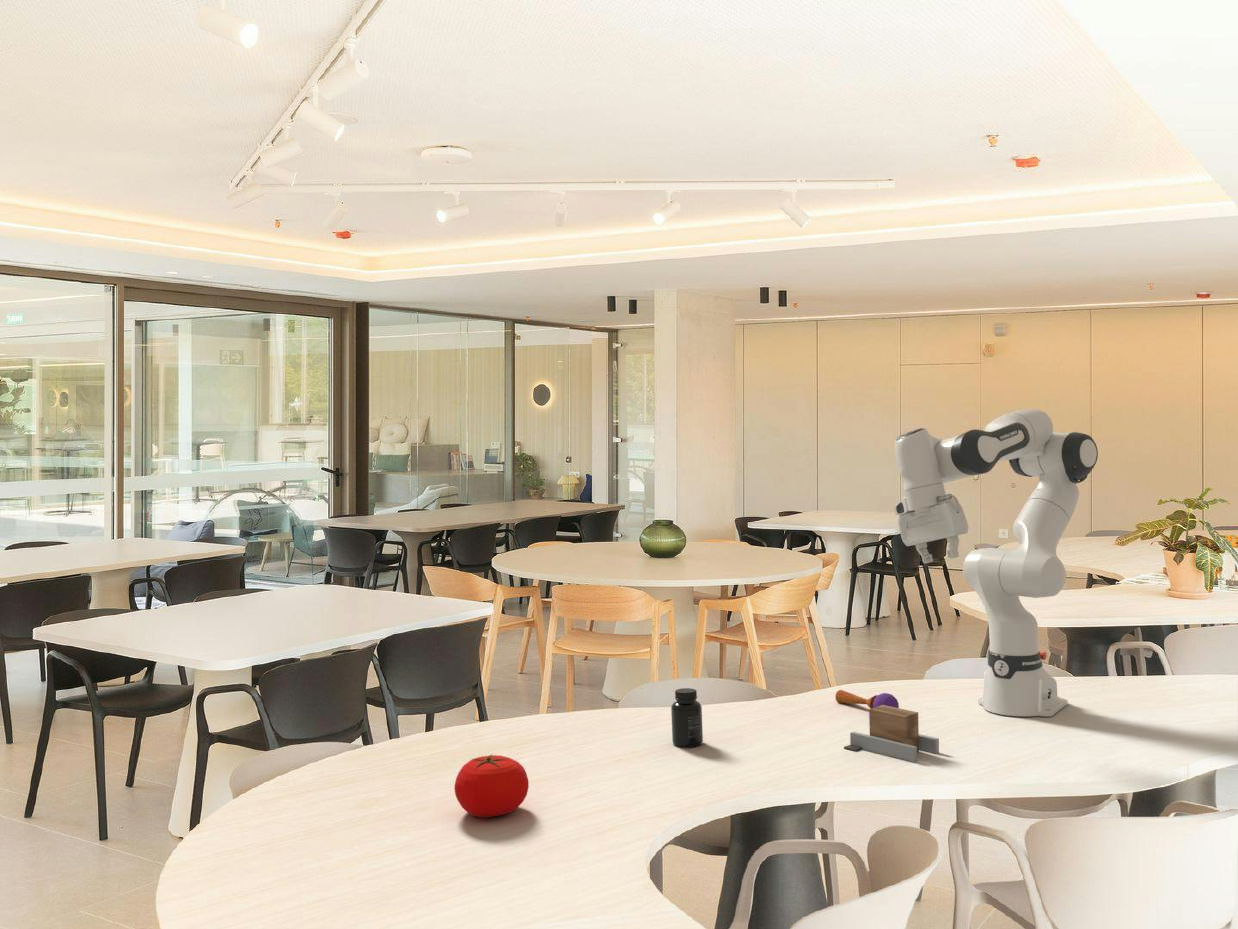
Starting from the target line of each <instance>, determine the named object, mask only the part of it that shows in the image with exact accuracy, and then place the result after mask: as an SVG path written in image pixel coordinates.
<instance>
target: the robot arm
mask: <svg viewBox="0 0 1238 929" xmlns="http://www.w3.org/2000/svg"><path fill="white" fill-rule="evenodd" d="M1098 452H1099V450H1098V446H1097V444H1096V442H1095V440H1094V439H1093V437H1092V436H1091V435H1089V434H1087V433H1083V432H1076V431H1073V432H1054V425H1053V421H1052V419H1051V417H1050V416H1049V415H1048V414H1047V413H1046V412H1045V411H1043V410H1040V409H1038V408H1027V409H1026V408H1025V409H1019V410H1014V411H1012V412H1008V413H1004V414H1003V415H1002V414H1001V415H1000V416H998V417H997V418H995V419H993V420H991V421H990V422H989V423H988V424H987V425H985V427H984V429H983V430H981V429H977V428H976V429H975V428H974V429H970V430H968V431H966V432H963V433H961V434H958V435H955V436H953V437H949V438H945V439H941V438H937V437H935V436H933V435H932V434H930V433H929V431H928V429H927V428H923V427H921V428H916V429H914V430H911V431H908V432H905V433H904V434H900V435H899V436H898V437H897V438H895V441H894V453H895V460H896V465H897V469H898V474H899V476H900V477H901V479H902V482H903V486H902V487H903V488H902V491H903V495H904V496H903V497H902V498H901V500H900V501H899V502H898V503H896V505H894V508H893V509H894V514H895V515H896V516H898V517H897V525H898V528H899V529H898V530H899V533H900V537H901V540H902V543H903V544H904V545H905V546H906V547H911V546H915V549H916V551H917V552H918V554H919V555H920V556H921V559H922V563H923V564H929V563H933V562H934V559H933V554H932V553H931V554H930V553H929V550H928V549H927V548H928V544H927V543H929V542H934V541H939V540H942V539H946V542H947V543H948V545H949V546H948V550H947V551H946V553H947V557H948V558H949V559H955V558H958V557H959V556H960V554H959V545H960V539H959V538H960V537H959V536H961V535H965V534H968V532H969V524H968V520H967V517H966V514H965V512H964V510H963V506H962V505H961V503H959V502H960V501H959V500H958V498H957V497H956V496H955V495H953V494H952V493H946V489H945V486H944V484H946V483H950V482H953V481H958V480H960V479H964V478H968V477H972V476H978V475H983V474H987V473H989V472H990V471H992V470H993V468H994V467H995V466H996V464H997V463H998V462H999V461H1008V462H1009V465H1010V468H1012V471H1013V472H1014V473H1015V474H1017V475H1019V476H1022V477H1027V478H1032V477H1038V483H1037V486H1036V488H1034V490H1033V491H1032V493H1031V494H1030V496H1029V497H1028V499H1027V500H1026V501H1025V504H1024V505H1023V507H1022V509H1021V510H1020V512H1019V514H1018V515H1017V517H1016V519H1015V521H1014V523H1013V526H1012V529H1013V530H1012V531H1013V535H1014V537H1015V539H1016V540H1017V542H1018V543H1019V544H1020V545H1019V547H1017V548H1014V549H1013V548H1011V549H1010V548H1009V549H1008V548H998V547H985V548H977V549H973V550H971V551H970V552H969V553H968V554H967V556H966V557H965V559H964V561H963V563H962V564H963V565H962V574H963V578H964V580H965V582H966V583H967V584H968V585H969V586H970V587H971V588H972V590H974V592H976V594H977V595H978V597H979V598H980V600H981V603H982V605H983V607H984V610H985V613H986V617H987V621H988V622H987V623H988V632H989V638H988V639H989V649H988V651H987V657H986V658H987V665H988V666H989V667H988V668H987V669H986V670H985V671H984V673H983V681H982V682H983V684H982V686H983V687H982V697H980V698H978V702H977V703H978V704H979V705H981V706H982V708H983V710H986V711H987V712H990V713H993V714H998V715H1002V716H1009V717H1052V716H1054V715H1055V714H1057V713H1058V712H1059V711H1060V710H1062V709H1064V708H1065V707H1066V706H1068V699H1066V698H1064V697H1061V696H1058V684H1057V683H1058V682H1057V680H1056V679H1055V678H1054V677H1053V676H1052V675H1051V674H1050V673H1048V671H1046V670H1045V668H1043V666H1044V665H1043V662H1042V660H1044V661H1045V660H1046V659H1047V657H1048V654H1047V651H1045V650H1044V651H1041V650H1039V628H1038V626H1039V624H1038V622H1037V619H1036V618H1035V617H1036V616H1034V615H1033V614H1032V613H1031V612H1030V611H1028V610H1027V609H1026V608H1025V606H1024V605H1023V604H1022V602H1021V600H1020V597H1026V598H1033V599H1037V598H1040V599H1041V598H1048V597H1050V598H1051V597H1055V596H1057V595H1059V593H1060V592H1061V591H1062V589H1063V588H1064V586H1065V583H1066V581H1067V580H1066V579H1067V574H1066V572H1067V571H1066V568H1065V566H1064V563H1063V561H1061V559H1060V558H1059V557H1058V555H1057V547H1058V545H1059V543H1060V540H1061V539H1062V536H1063V534H1064V532H1065V530H1066V528H1067V527H1068V525H1069V522H1071V519H1072V517H1073V514H1074V512H1075V509H1076V507H1077V504H1078V501H1079V495H1080V491H1079V487H1078V486H1077V484H1080V483H1082V482H1084V481H1085V480H1086V479H1088V476H1089V475H1090V473H1091V472H1092V471H1093V470H1094V467H1095V466H1096V464H1097V461H1098V457H1099V453H1098Z"/></svg>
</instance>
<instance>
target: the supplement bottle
mask: <svg viewBox="0 0 1238 929" xmlns="http://www.w3.org/2000/svg"><path fill="white" fill-rule="evenodd" d="M674 695H675V696H674V699H675V701H674V702H673V703H672V704H671V708H670V709H671V710H670V712H671V735H672V736H671V737H672V744H673V745H674V746H675V745H676V746H675V747H678V746H679V748H695V747H699V746H701V745H702V744H703V742H704V740H703V738H704V737H703V734H704V733H703V732H704V731H703V711H702V710H703V707H702V704H701V702H699V701H697V699H698V695H697V689H695V688H689V687H688V688H687V687H682V688H677V689H676V690H675V691H674Z"/></svg>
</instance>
